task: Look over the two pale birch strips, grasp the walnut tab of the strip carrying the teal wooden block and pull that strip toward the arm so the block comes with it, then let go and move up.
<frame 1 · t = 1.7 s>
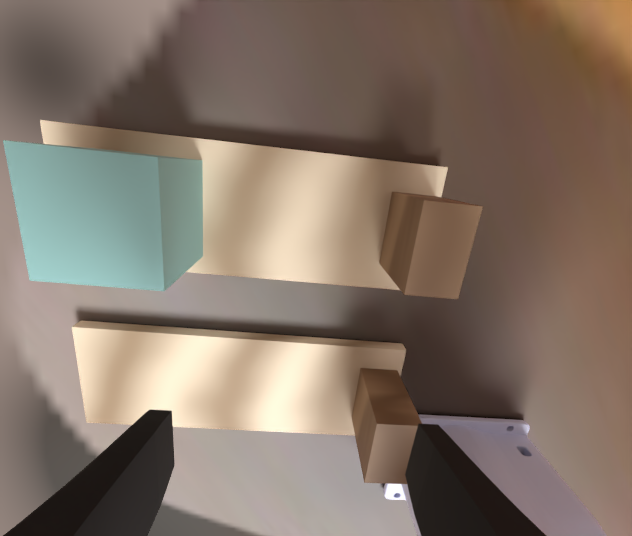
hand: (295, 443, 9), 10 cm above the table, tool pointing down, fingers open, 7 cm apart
loaded strip: (244, 221, 15), point 3 cm above the table, slide at 0.0 cm, touching teal block
empty strip: (238, 408, 18), point 3 cm above the table, slide at 0.0 cm
teal block: (153, 205, 16), point 1 cm above the table, touching loaded strip
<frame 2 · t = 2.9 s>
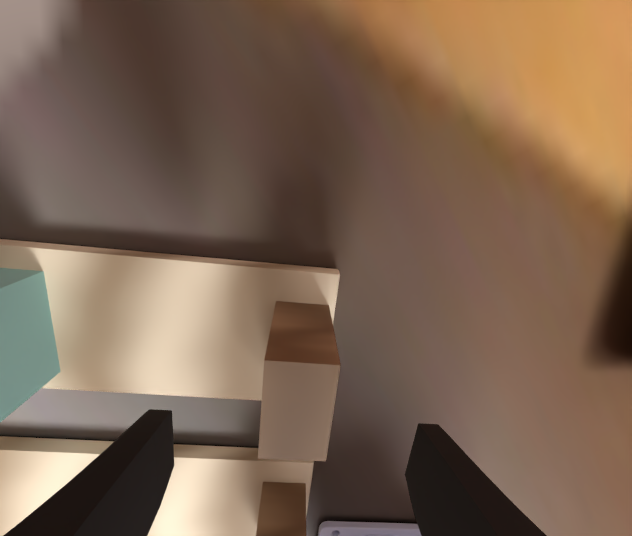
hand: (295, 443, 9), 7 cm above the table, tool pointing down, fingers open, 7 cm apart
loaded strip: (83, 351, 12), point 3 cm above the table, slide at 0.0 cm, touching teal block
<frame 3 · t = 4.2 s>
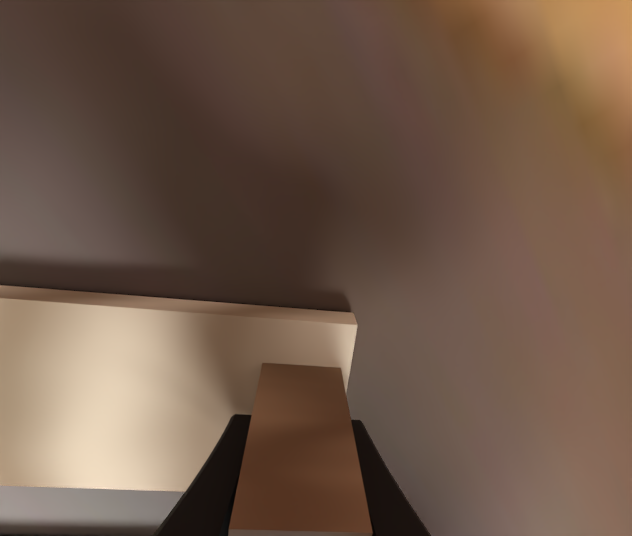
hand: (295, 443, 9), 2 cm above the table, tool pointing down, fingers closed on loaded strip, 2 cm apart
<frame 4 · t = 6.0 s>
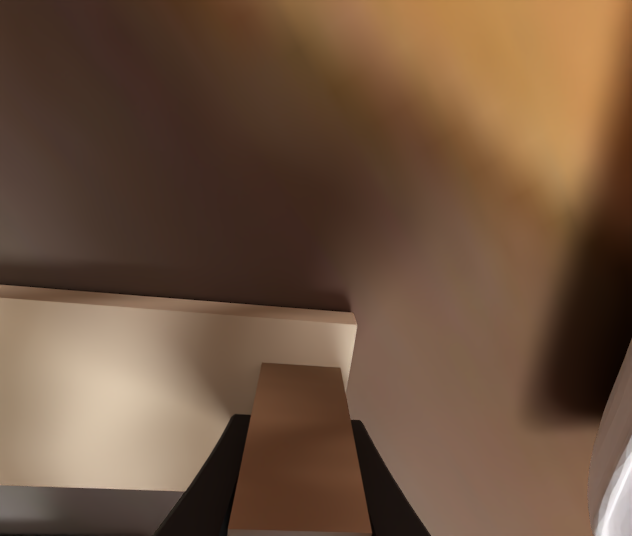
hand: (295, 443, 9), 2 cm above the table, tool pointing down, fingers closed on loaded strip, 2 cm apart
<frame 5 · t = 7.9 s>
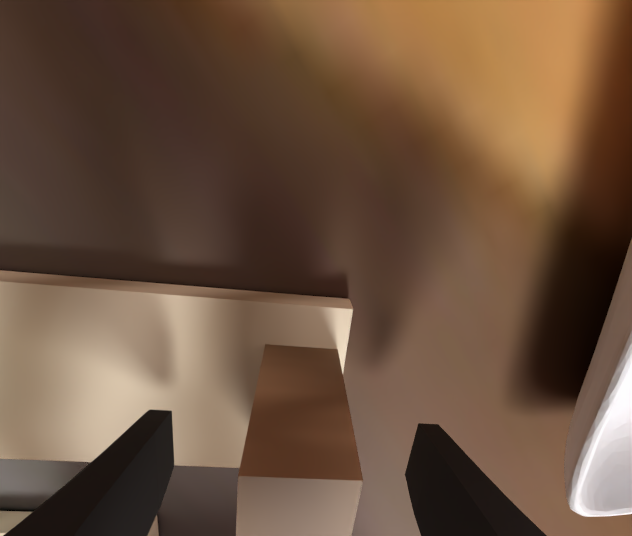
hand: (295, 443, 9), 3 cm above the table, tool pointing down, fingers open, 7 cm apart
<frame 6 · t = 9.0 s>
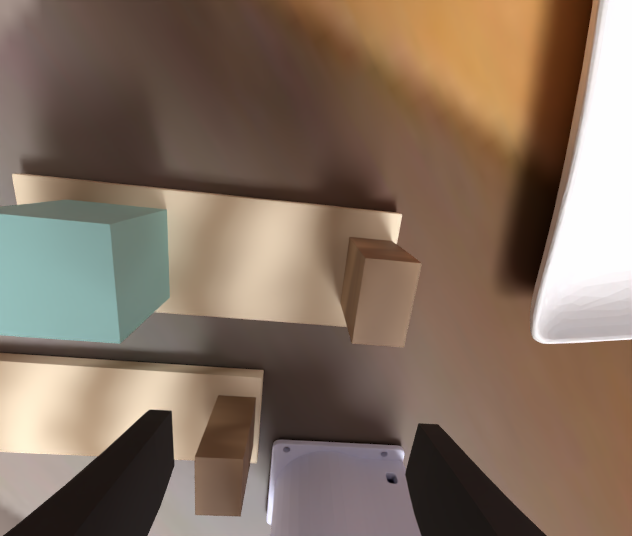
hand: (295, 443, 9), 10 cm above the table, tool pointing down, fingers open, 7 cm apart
loaded strip: (204, 269, 15), point 3 cm above the table, slide at 7.0 cm, touching teal block
empty strip: (82, 437, 18), point 3 cm above the table, slide at 0.0 cm
teal block: (121, 251, 17), point 1 cm above the table, touching loaded strip
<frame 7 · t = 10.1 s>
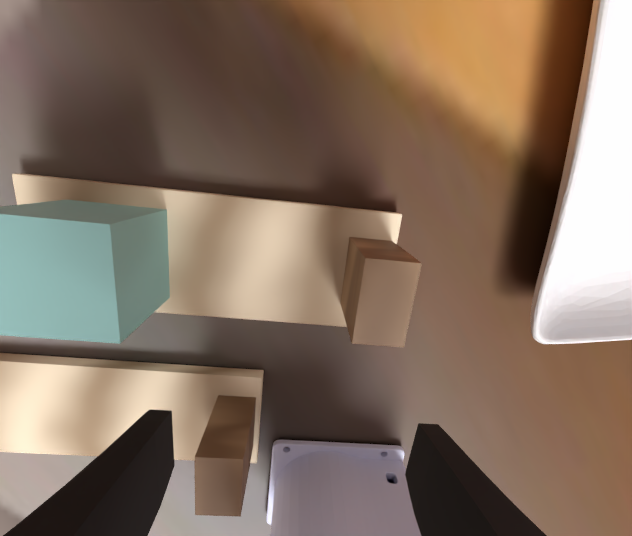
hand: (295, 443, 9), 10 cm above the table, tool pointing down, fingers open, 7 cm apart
loaded strip: (204, 269, 15), point 3 cm above the table, slide at 7.0 cm, touching teal block
empty strip: (82, 437, 18), point 3 cm above the table, slide at 0.0 cm
teal block: (121, 251, 17), point 1 cm above the table, touching loaded strip
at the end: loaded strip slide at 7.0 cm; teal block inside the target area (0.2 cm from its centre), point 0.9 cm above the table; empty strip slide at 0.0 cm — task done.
